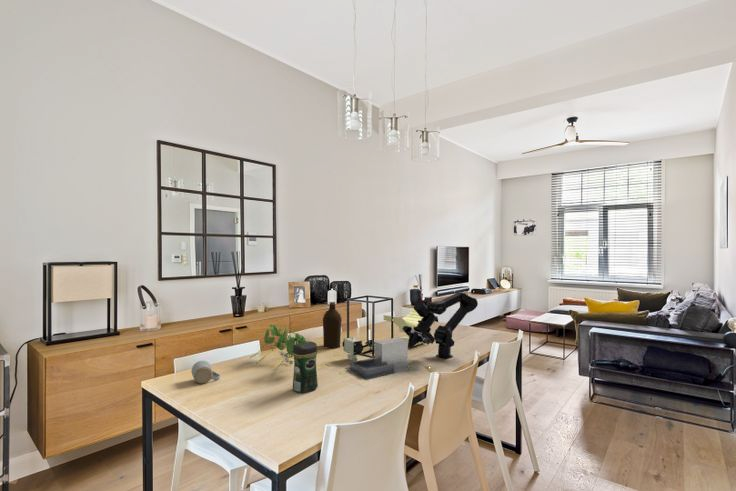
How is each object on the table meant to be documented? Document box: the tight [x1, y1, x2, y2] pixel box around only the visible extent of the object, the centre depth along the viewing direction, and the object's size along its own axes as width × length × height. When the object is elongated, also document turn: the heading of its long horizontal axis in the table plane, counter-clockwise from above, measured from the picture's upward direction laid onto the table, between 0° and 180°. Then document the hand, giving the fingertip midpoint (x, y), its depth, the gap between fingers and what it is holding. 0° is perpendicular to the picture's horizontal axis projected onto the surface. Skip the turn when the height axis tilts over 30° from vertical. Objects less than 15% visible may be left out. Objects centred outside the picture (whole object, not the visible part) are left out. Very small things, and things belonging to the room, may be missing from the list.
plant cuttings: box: [248, 324, 310, 372], centre depth 174 cm, size 35×17×22 cm
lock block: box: [373, 336, 409, 368], centre depth 173 cm, size 16×6×12 cm, turn 123°
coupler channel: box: [344, 357, 420, 381], centre depth 170 cm, size 30×18×4 cm, turn 123°
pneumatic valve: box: [341, 337, 364, 362], centre depth 183 cm, size 6×12×12 cm, turn 39°
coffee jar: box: [292, 340, 318, 394], centre depth 147 cm, size 10×8×19 cm
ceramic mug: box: [191, 360, 221, 385], centre depth 155 cm, size 11×8×8 cm
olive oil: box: [322, 301, 343, 349], centre depth 210 cm, size 11×11×25 cm
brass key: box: [424, 365, 435, 373], centre depth 169 cm, size 8×3×1 cm, turn 11°
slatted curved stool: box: [383, 308, 436, 347], centre depth 217 cm, size 30×16×18 cm, turn 139°
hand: (408, 348), depth 179 cm, fingers closed
